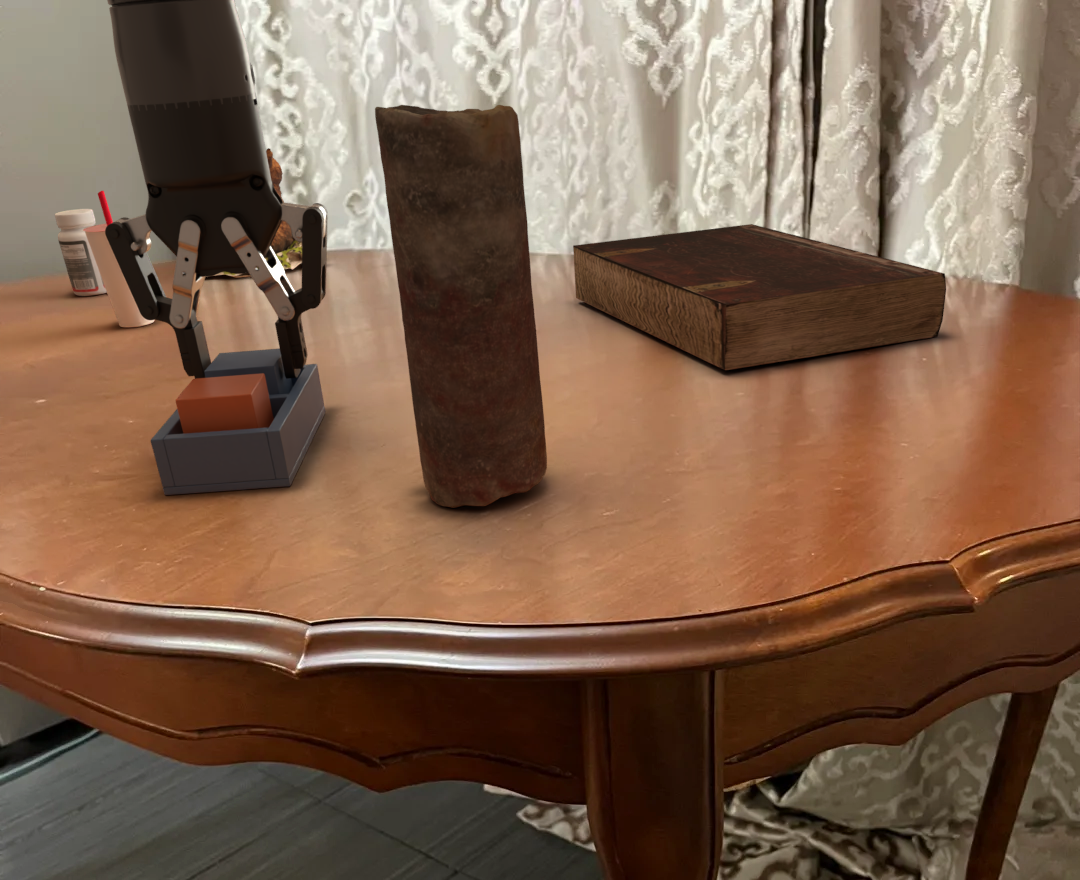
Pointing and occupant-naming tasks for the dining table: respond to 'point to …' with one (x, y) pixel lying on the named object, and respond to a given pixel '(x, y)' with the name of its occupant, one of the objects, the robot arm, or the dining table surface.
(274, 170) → the bear figurine
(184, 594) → the dining table surface
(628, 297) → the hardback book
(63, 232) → the pill bottle
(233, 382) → the terracotta block
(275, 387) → the blue block
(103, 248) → the cup
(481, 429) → the brown tall block
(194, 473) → the tray
